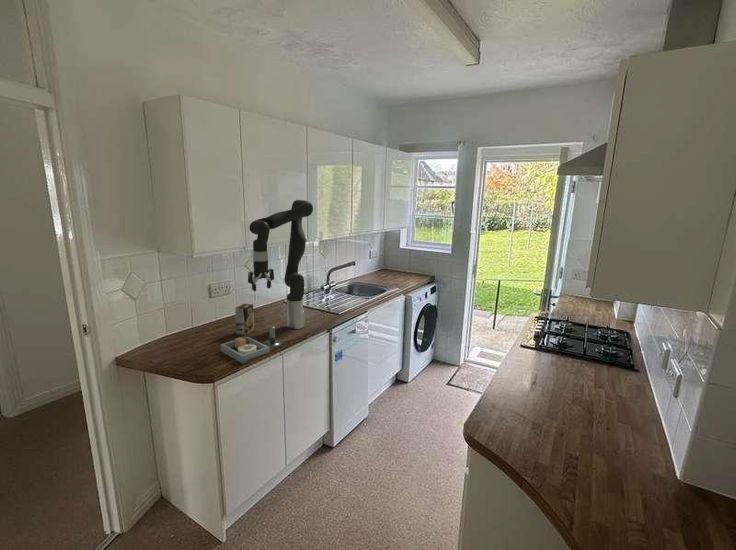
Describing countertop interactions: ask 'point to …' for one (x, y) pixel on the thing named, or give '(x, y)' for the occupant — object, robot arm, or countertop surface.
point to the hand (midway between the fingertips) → (261, 289)
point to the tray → (244, 358)
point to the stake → (272, 338)
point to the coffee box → (244, 319)
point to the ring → (244, 346)
